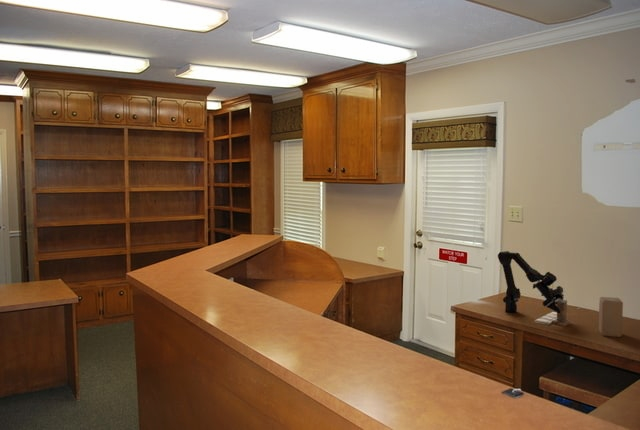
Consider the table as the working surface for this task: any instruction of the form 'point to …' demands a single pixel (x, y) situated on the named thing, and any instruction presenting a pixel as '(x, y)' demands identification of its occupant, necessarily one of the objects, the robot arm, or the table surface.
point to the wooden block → (610, 316)
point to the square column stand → (561, 313)
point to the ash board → (547, 318)
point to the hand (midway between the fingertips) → (563, 311)
